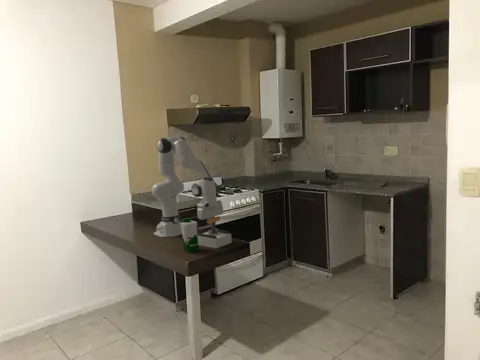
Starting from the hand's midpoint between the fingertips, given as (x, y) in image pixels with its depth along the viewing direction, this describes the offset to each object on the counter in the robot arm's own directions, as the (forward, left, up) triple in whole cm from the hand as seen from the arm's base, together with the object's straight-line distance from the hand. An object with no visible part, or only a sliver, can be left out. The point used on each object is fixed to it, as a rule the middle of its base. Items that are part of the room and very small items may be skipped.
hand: (211, 223), depth 258 cm
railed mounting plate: (+1, 0, -7) cm, 7 cm away
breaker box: (+1, 0, -13) cm, 13 cm away
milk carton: (-2, -18, -13) cm, 22 cm away
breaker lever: (+1, 0, -6) cm, 6 cm away
